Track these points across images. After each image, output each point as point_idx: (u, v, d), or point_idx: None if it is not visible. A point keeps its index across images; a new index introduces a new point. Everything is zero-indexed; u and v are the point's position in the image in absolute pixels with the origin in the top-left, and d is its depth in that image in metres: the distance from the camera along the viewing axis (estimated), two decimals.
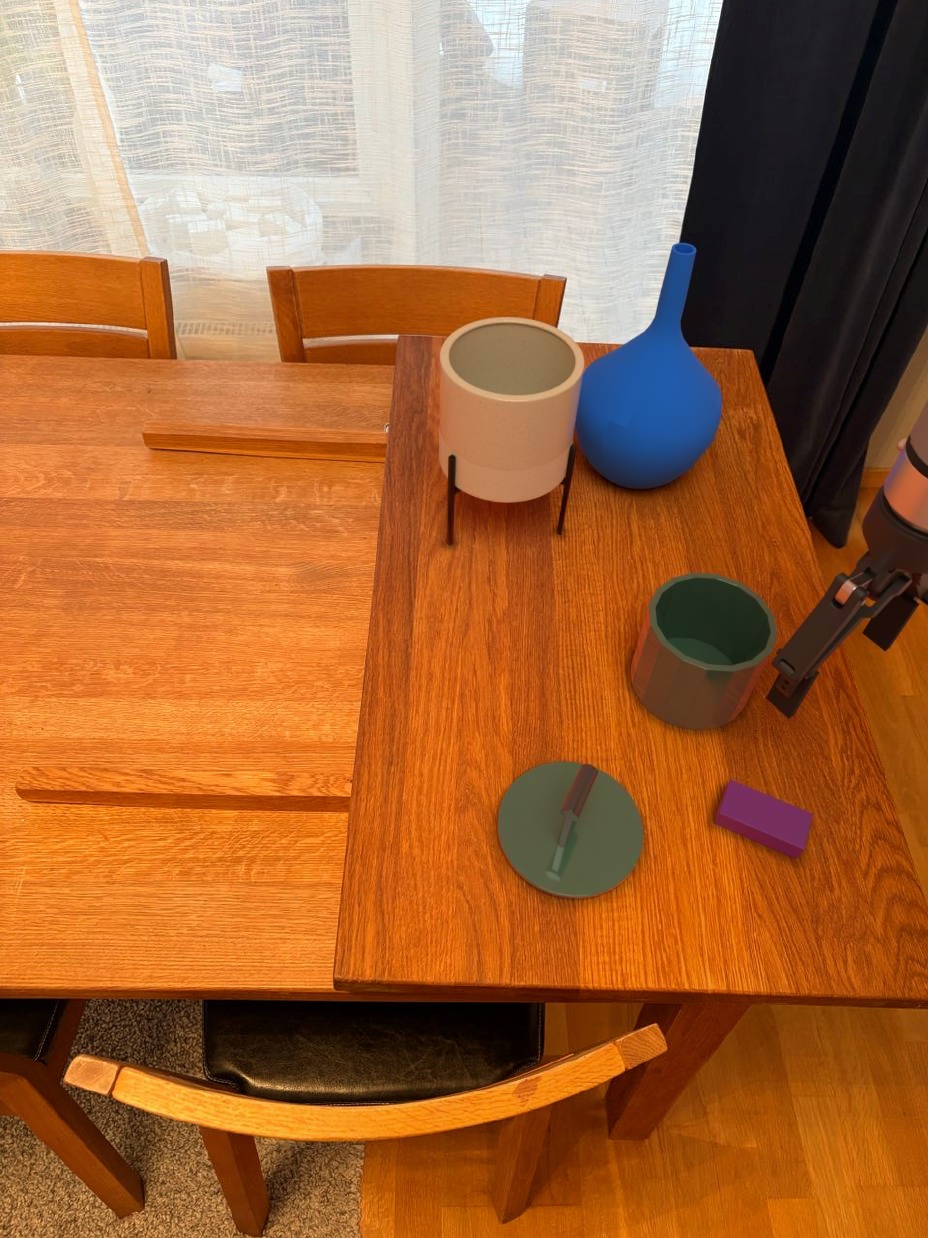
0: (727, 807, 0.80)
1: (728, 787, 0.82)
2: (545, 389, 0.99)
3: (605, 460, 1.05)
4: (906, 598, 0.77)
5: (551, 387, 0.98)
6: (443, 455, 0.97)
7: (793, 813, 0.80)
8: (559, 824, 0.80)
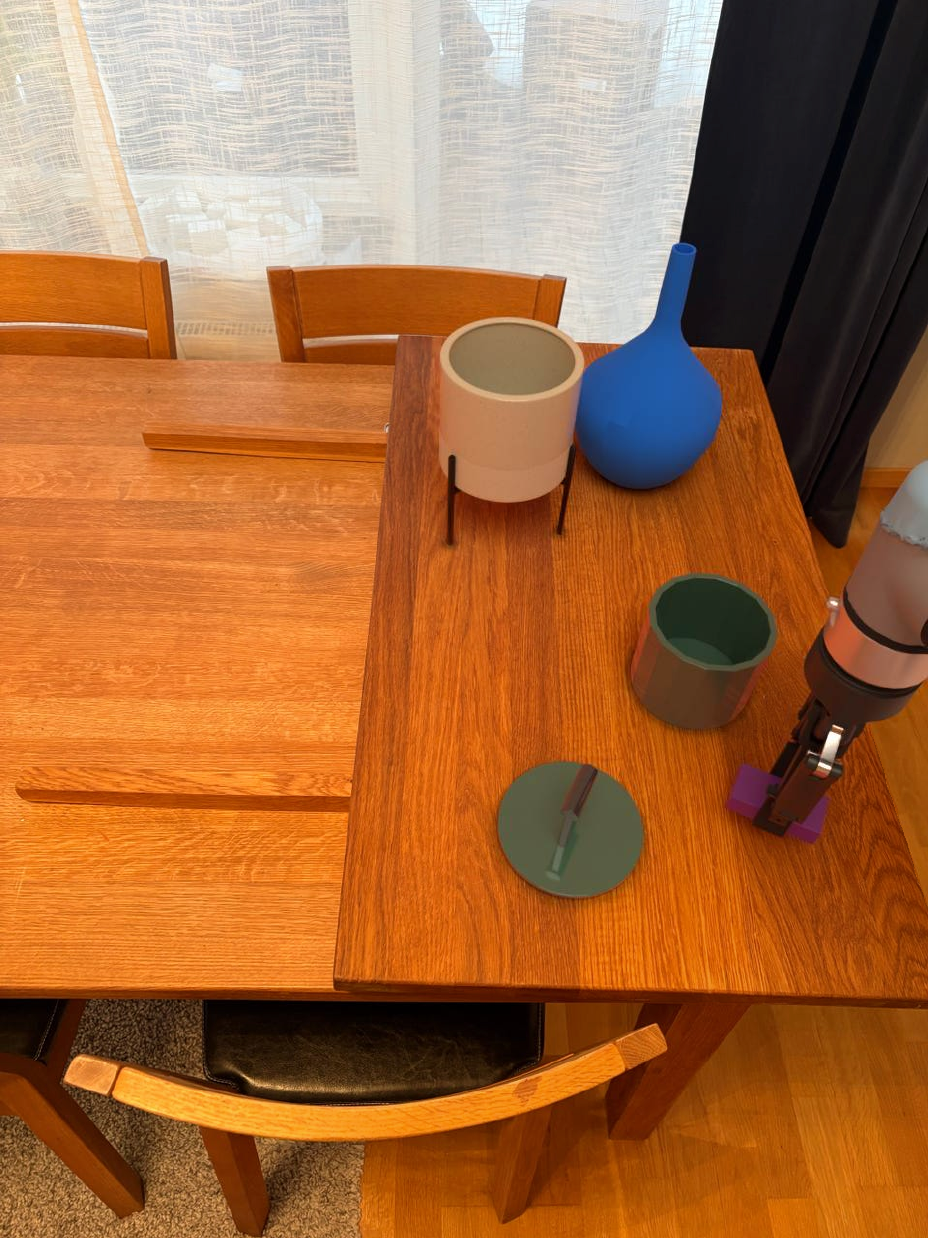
0: (740, 791, 0.77)
1: (740, 770, 0.79)
2: (545, 389, 0.99)
3: (605, 460, 1.05)
4: None
5: (551, 387, 0.98)
6: (443, 455, 0.97)
7: None
8: (559, 824, 0.80)
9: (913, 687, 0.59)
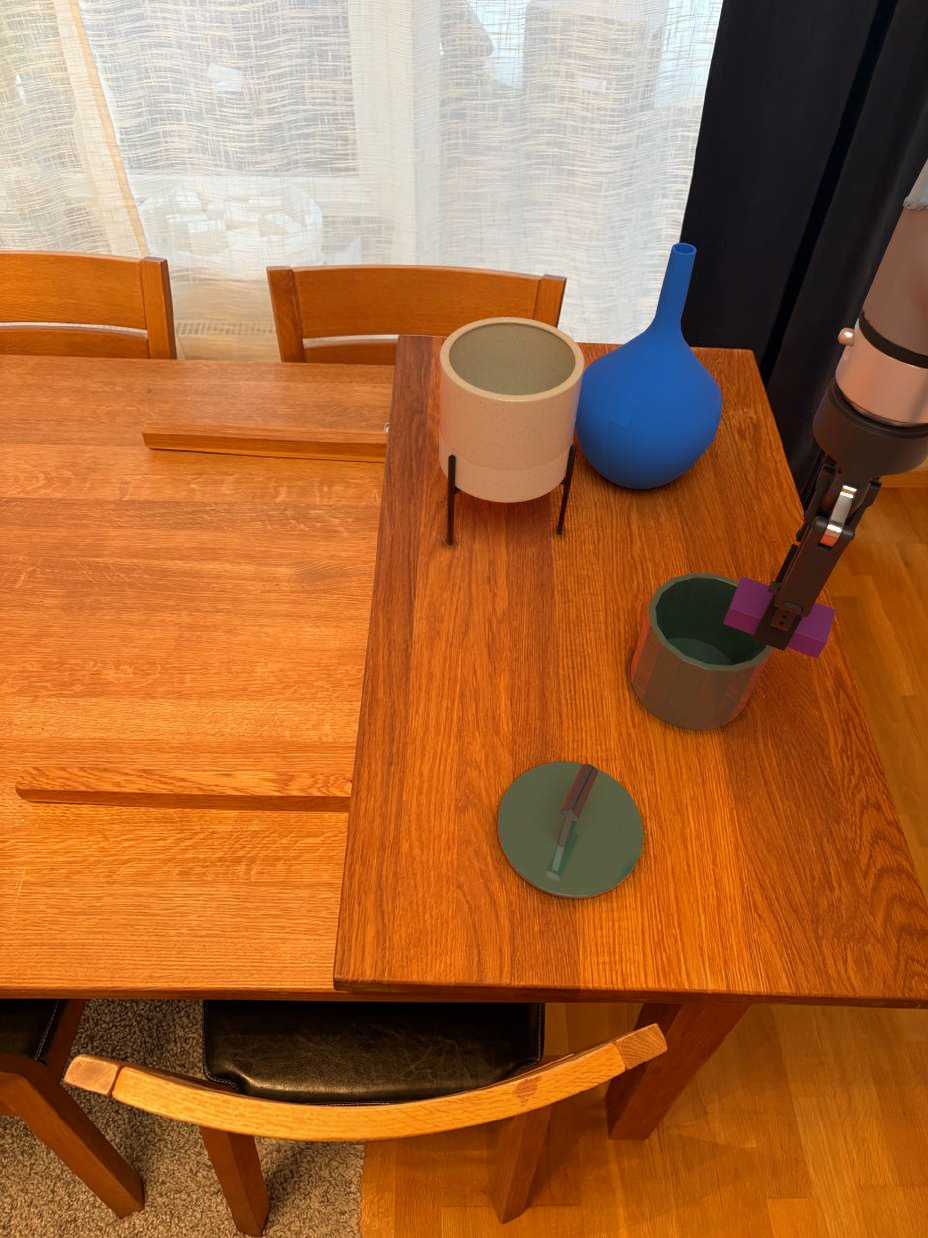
0: (739, 602, 0.71)
1: (740, 583, 0.73)
2: (545, 389, 0.99)
3: (605, 460, 1.05)
4: None
5: (551, 387, 0.98)
6: (443, 455, 0.97)
7: (813, 608, 0.71)
8: (559, 824, 0.80)
9: None
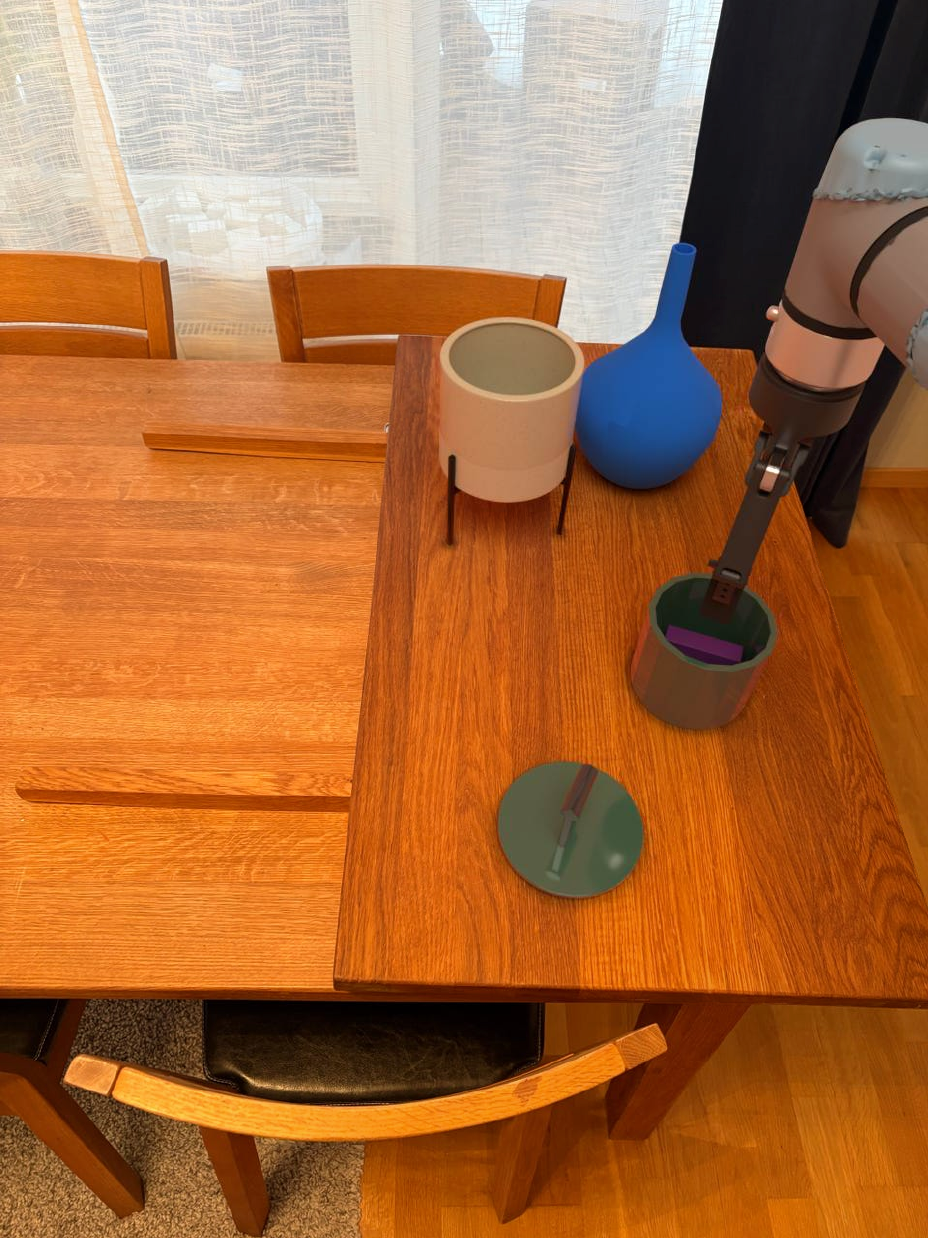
0: None
1: None
2: (545, 389, 0.99)
3: (605, 460, 1.05)
4: None
5: (551, 387, 0.98)
6: (443, 455, 0.97)
7: None
8: (559, 824, 0.80)
9: (852, 393, 0.60)
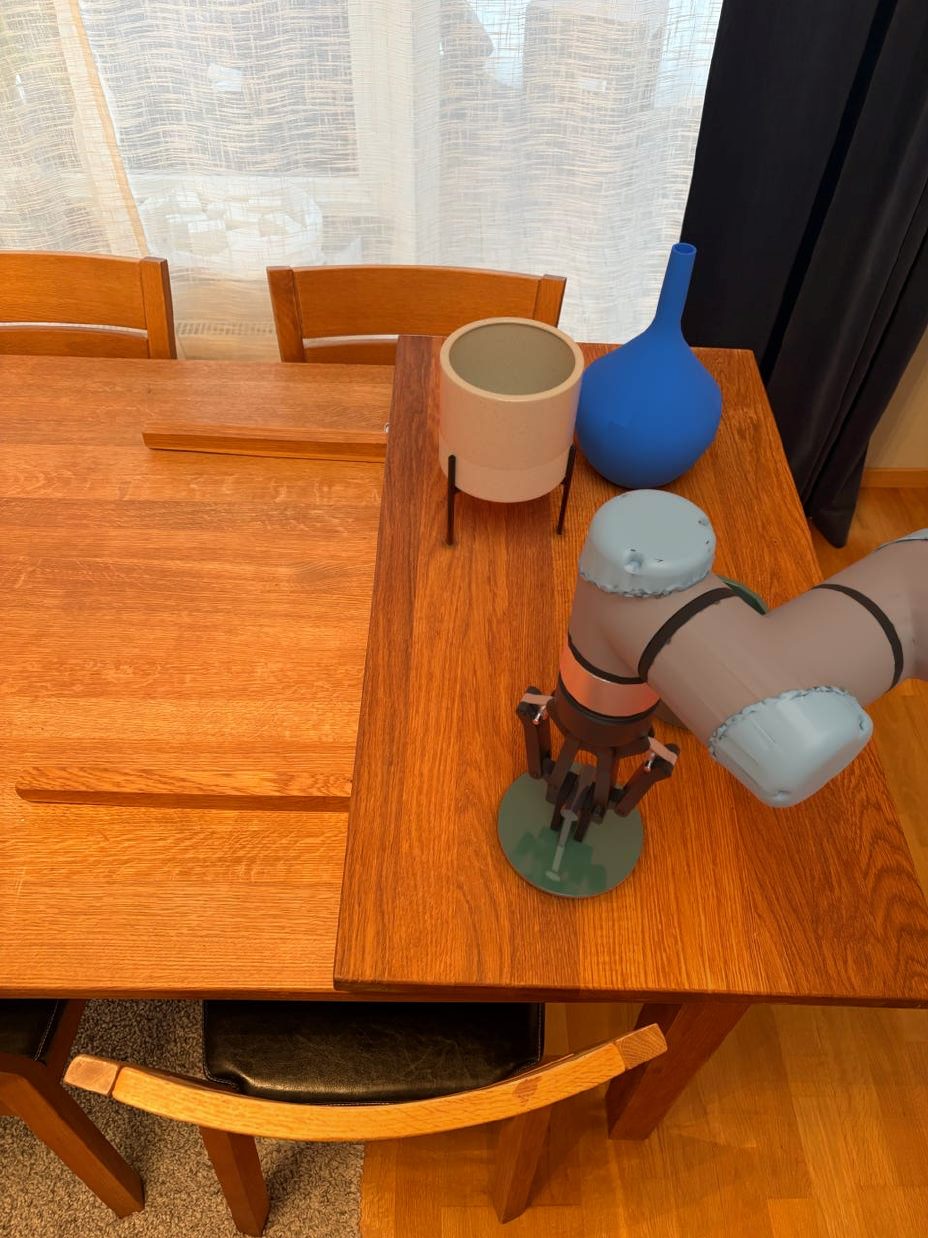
0: None
1: None
2: (545, 389, 0.99)
3: (605, 460, 1.05)
4: (590, 797, 0.74)
5: (551, 387, 0.98)
6: (443, 455, 0.97)
7: None
8: None
9: (573, 702, 0.60)
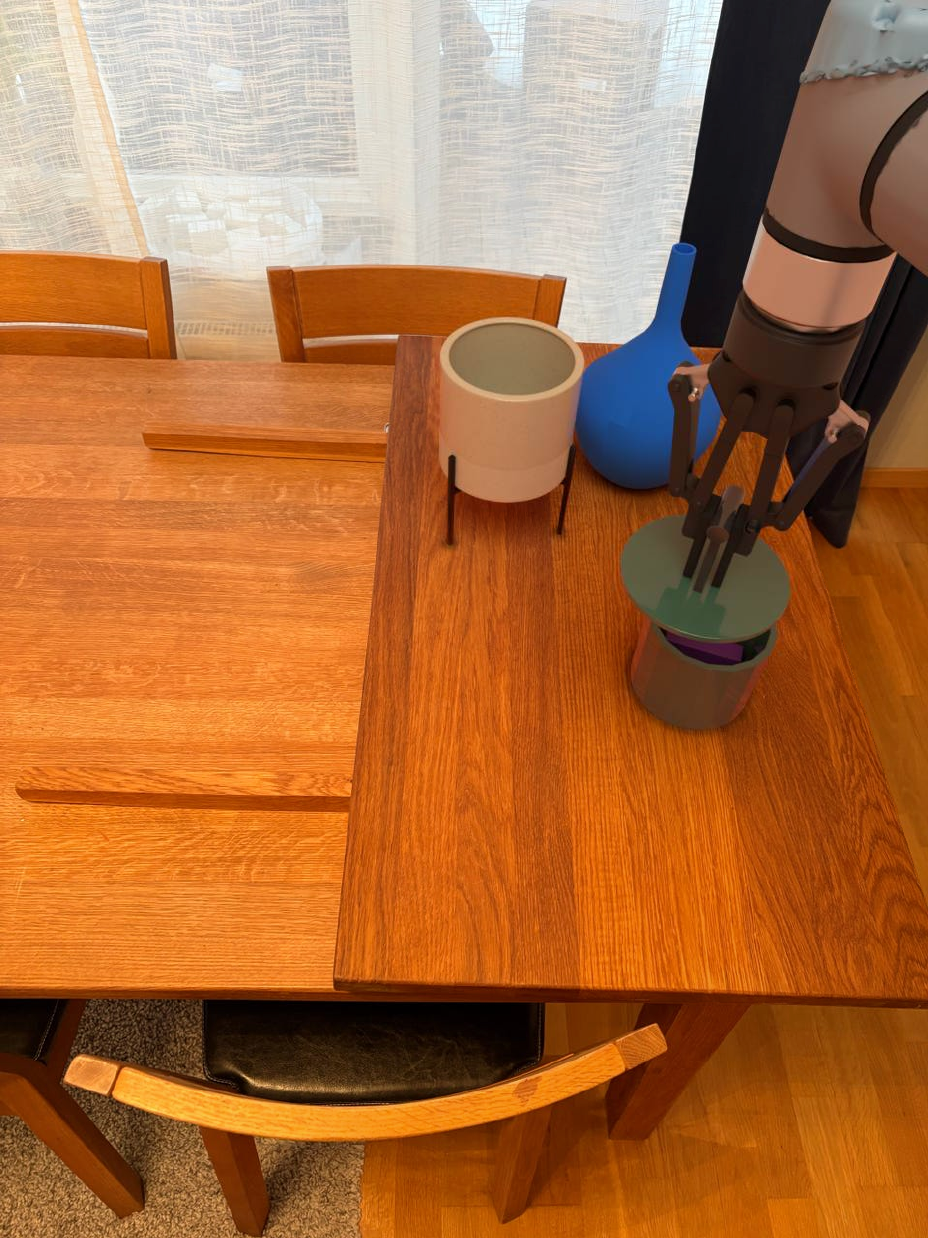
0: None
1: None
2: (545, 389, 0.99)
3: (605, 460, 1.05)
4: (740, 517, 0.63)
5: (551, 387, 0.98)
6: (443, 455, 0.97)
7: None
8: None
9: (761, 325, 0.50)
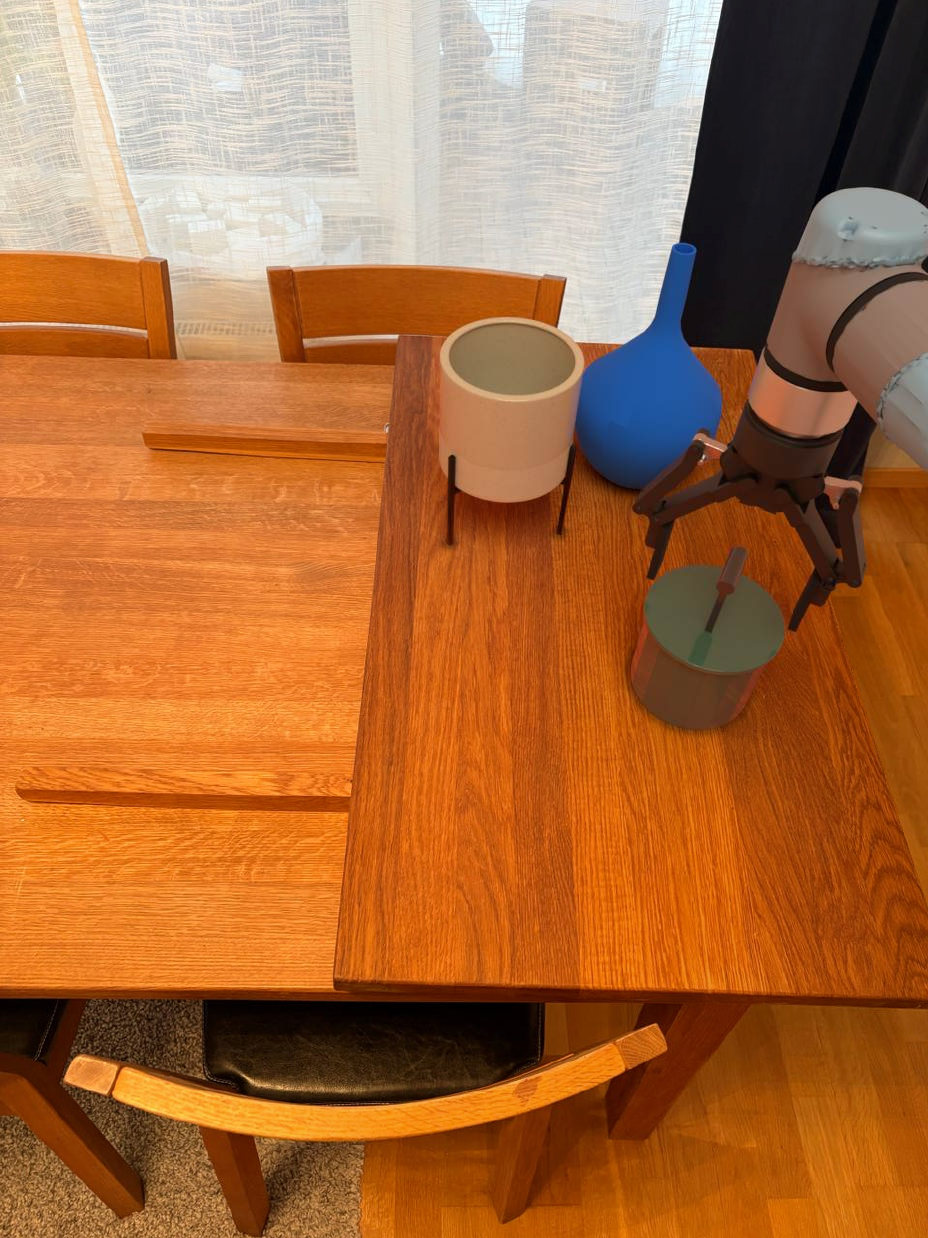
0: None
1: None
2: (545, 389, 0.99)
3: (605, 460, 1.05)
4: (817, 574, 0.74)
5: (551, 387, 0.98)
6: (443, 455, 0.97)
7: None
8: (704, 614, 0.83)
9: (762, 431, 0.64)
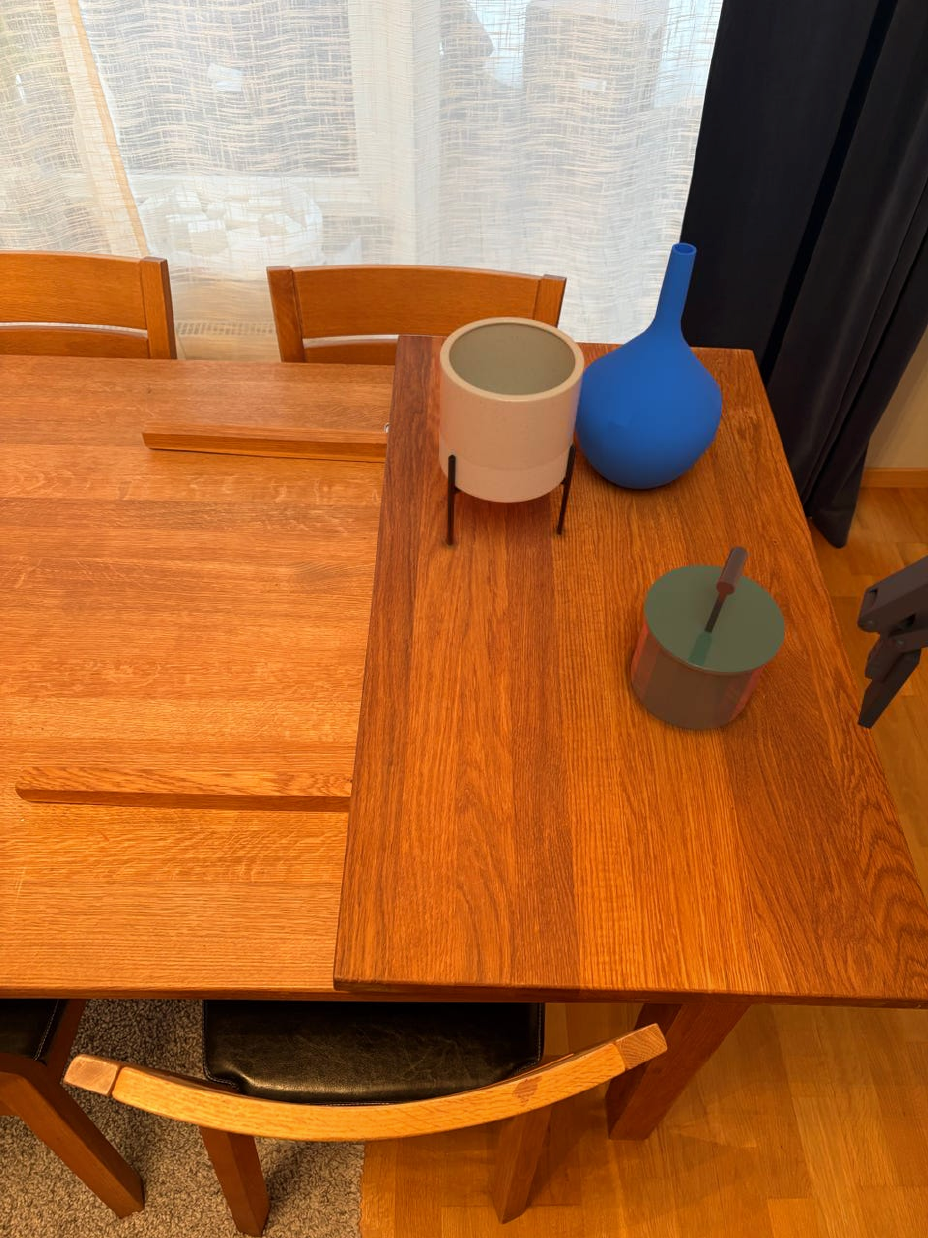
0: None
1: None
2: (545, 389, 0.99)
3: (605, 460, 1.05)
4: None
5: (551, 387, 0.98)
6: (443, 455, 0.97)
7: None
8: (704, 614, 0.83)
9: None
